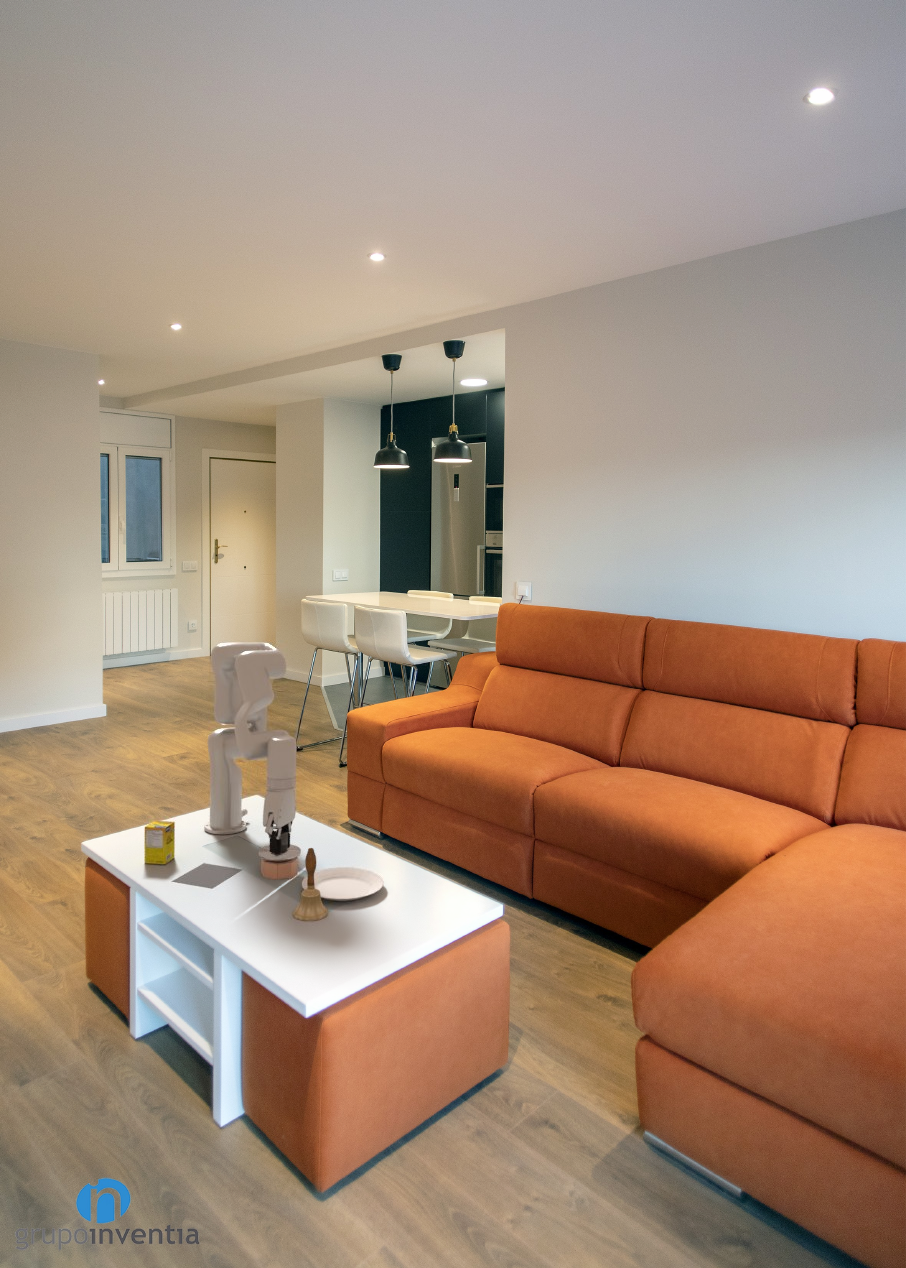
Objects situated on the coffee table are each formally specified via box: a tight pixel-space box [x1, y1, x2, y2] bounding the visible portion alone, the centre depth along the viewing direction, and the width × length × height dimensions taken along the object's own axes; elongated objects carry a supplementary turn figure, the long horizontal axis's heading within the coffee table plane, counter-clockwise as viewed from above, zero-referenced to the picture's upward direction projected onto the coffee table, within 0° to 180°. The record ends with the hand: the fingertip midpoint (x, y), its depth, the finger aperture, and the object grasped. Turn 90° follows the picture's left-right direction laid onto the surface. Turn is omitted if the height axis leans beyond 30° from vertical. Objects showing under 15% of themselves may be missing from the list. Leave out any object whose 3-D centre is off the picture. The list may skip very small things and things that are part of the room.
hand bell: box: [292, 847, 329, 922], centre depth 190 cm, size 8×8×16 cm
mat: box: [171, 862, 243, 889], centre depth 211 cm, size 14×12×1 cm
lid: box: [258, 829, 302, 861], centre depth 214 cm, size 11×11×6 cm
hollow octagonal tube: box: [260, 856, 299, 880], centre depth 215 cm, size 9×9×4 cm
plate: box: [301, 866, 385, 902], centre depth 206 cm, size 21×21×2 cm
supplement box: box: [144, 820, 176, 866], centre depth 219 cm, size 6×6×11 cm
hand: (279, 849), depth 214 cm, fingers closed on lid, 4 cm apart
